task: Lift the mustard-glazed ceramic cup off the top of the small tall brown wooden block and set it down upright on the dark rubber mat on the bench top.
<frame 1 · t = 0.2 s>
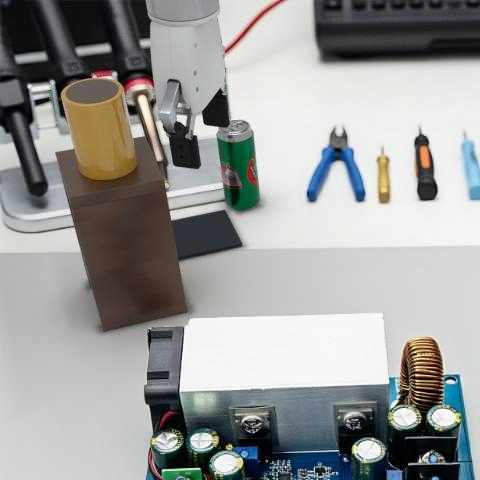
hand: (202, 145, 116), 20 cm above the table, tool pointing down, fingers open, 9 cm apart
cup: (108, 165, 113), point 19 cm above the table, touching tall brown wooden block
tall brown wooden block: (137, 297, 126), on the table
soda can: (243, 203, 143), on the table
mat: (202, 235, 136), on the table
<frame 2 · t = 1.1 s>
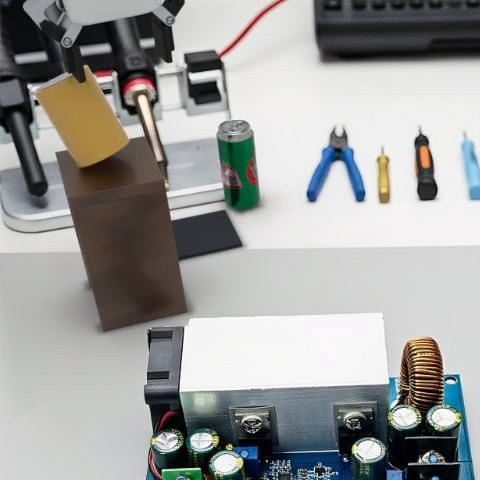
hand: (122, 68, 107), 30 cm above the table, tool pointing down, fingers open, 9 cm apart
cup: (103, 153, 112), point 20 cm above the table, tilted 25°, touching tall brown wooden block
everything else where it was.
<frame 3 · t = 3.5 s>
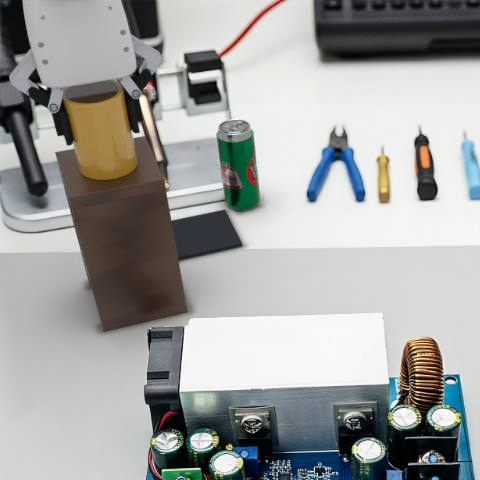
hand: (101, 132, 110), 23 cm above the table, tool pointing down, fingers closed on cup, 6 cm apart
cup: (108, 165, 113), point 19 cm above the table, touching gripper, tall brown wooden block
everything else where it was.
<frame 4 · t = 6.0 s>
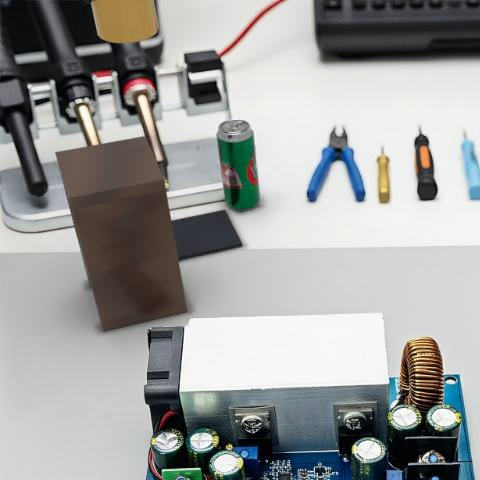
cup: (128, 30, 109), point 32 cm above the table, touching gripper
everything else where it was.
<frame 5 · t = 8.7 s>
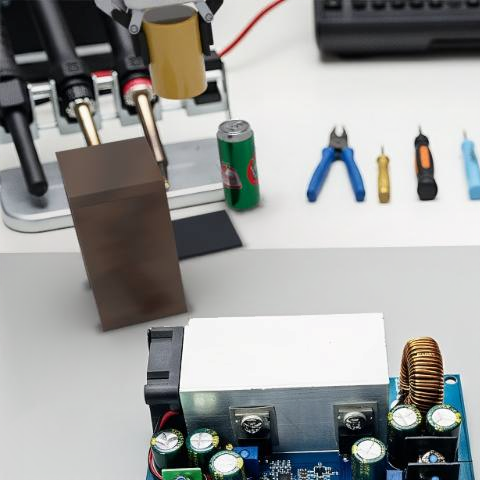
hand: (175, 55, 119), 26 cm above the table, tool pointing down, fingers closed on cup, 6 cm apart
cup: (180, 87, 121), point 22 cm above the table, touching gripper
everything else where it was.
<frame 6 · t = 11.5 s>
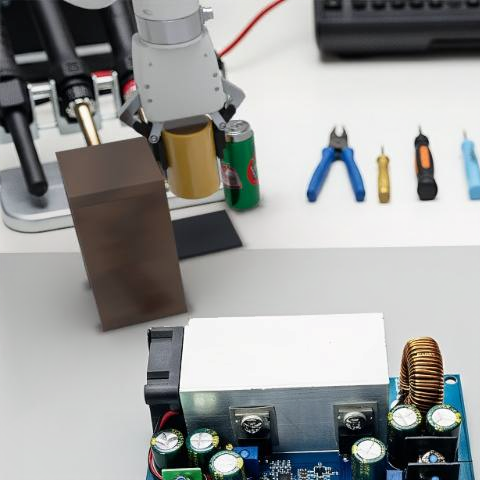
hand: (191, 158, 128), 12 cm above the table, tool pointing down, fingers closed on cup, 6 cm apart
cup: (195, 186, 131), point 8 cm above the table, touching gripper
everything else where it was.
when the fingers open (5 cm above the table, at t = 13.7 s): cup stays where it is, resting on mat.
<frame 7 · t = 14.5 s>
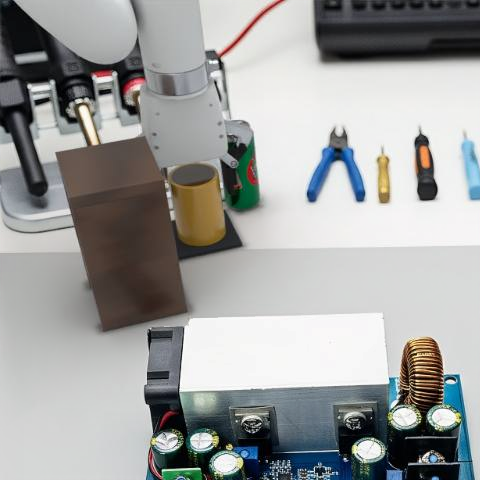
hand: (194, 197, 132), 6 cm above the table, tool pointing down, fingers open, 9 cm apart
cup: (202, 232, 136), resting on mat
everything else where it was.
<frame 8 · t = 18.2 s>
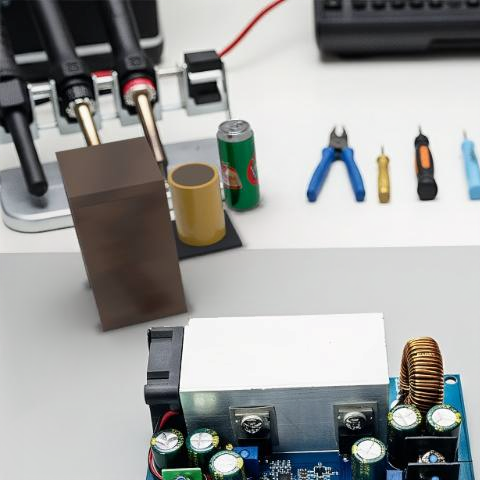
nothing on the table moved.
at the end: cup 0.1 cm off-centre on the mat, point 0.5 cm above the mat's base; cup tilted 0°; the gripper is holding nothing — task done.
